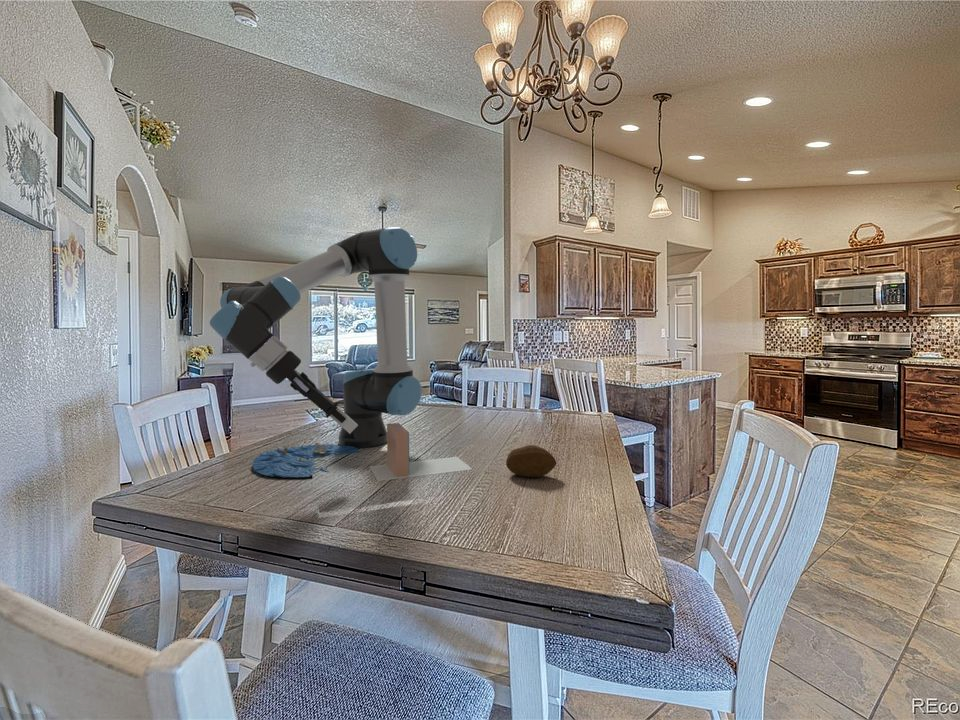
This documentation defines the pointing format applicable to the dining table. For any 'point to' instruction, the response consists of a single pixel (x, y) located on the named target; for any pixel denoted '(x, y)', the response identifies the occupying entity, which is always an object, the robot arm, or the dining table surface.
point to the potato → (530, 461)
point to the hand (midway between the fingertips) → (353, 428)
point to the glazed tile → (398, 449)
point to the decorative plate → (296, 459)
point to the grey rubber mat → (422, 468)
